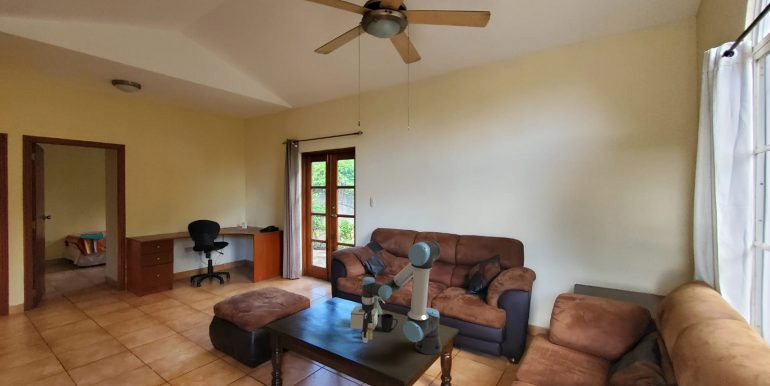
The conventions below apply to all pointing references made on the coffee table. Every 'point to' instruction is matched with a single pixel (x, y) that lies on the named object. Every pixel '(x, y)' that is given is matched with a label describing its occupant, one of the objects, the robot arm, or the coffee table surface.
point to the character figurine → (376, 305)
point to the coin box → (358, 318)
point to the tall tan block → (369, 333)
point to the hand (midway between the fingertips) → (367, 337)
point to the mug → (387, 322)
